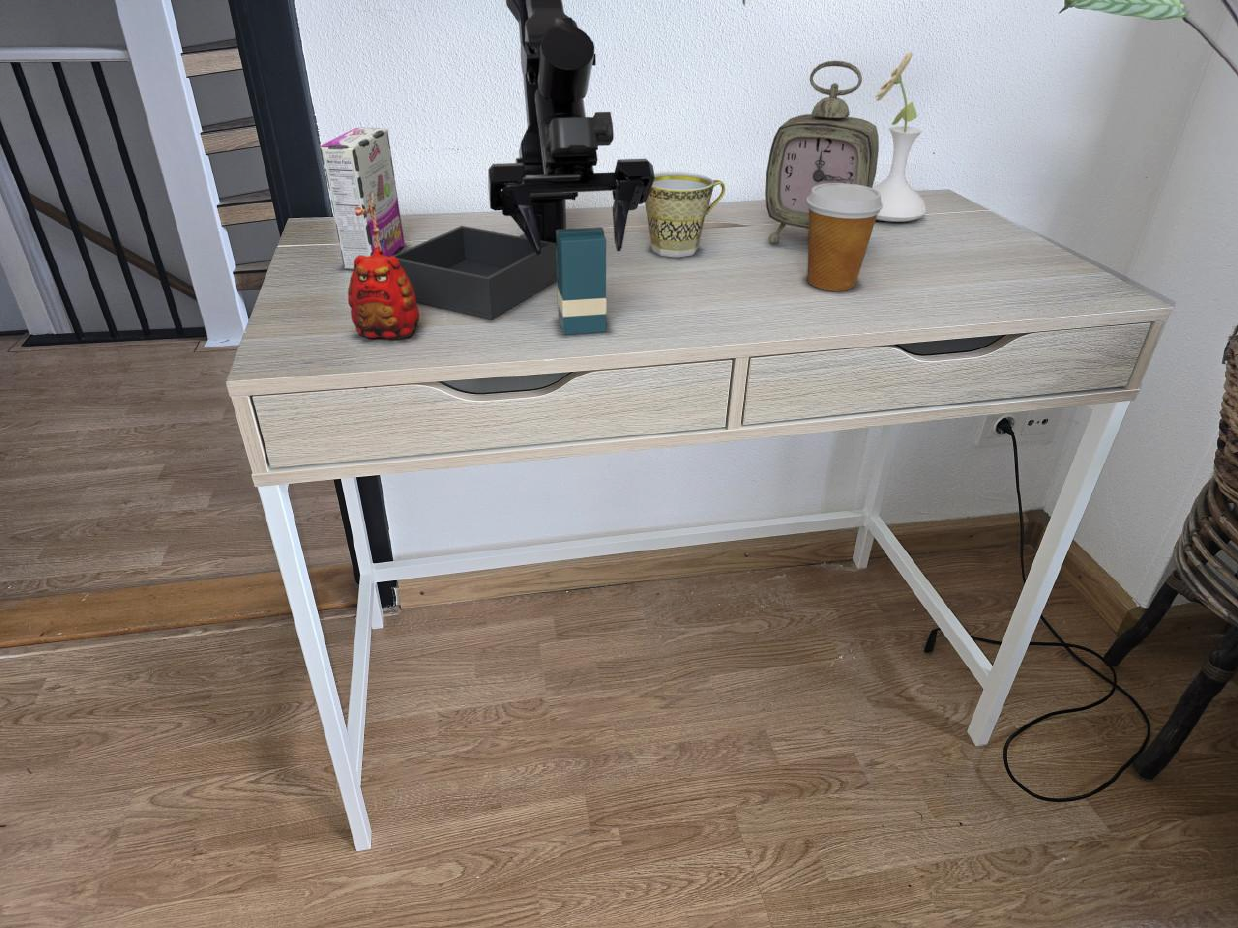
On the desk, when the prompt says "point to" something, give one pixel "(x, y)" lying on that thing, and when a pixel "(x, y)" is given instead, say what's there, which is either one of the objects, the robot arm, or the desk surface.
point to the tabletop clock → (818, 154)
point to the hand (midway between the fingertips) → (579, 252)
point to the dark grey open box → (478, 271)
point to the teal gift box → (581, 280)
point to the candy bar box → (363, 192)
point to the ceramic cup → (679, 211)
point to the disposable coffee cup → (839, 232)
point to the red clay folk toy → (381, 292)
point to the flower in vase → (900, 161)
